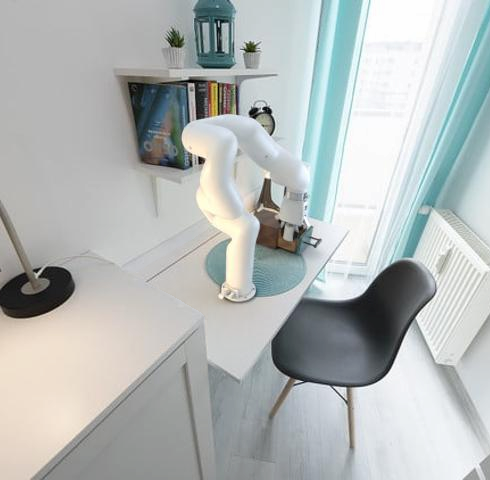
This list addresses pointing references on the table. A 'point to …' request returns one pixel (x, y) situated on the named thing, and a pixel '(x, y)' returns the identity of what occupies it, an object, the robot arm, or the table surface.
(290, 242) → the drawer
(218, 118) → the robot arm
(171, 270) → the table surface
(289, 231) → the paper towel roll
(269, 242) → the cabinet
